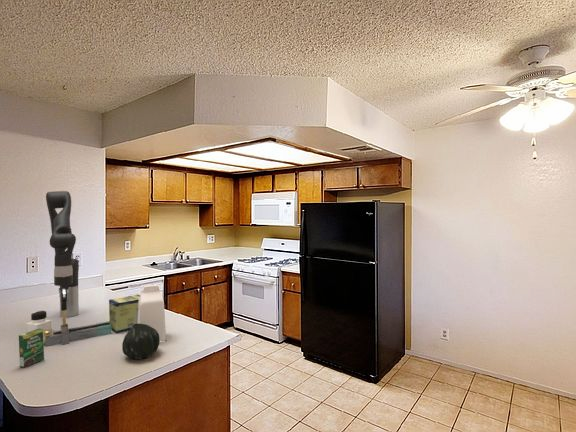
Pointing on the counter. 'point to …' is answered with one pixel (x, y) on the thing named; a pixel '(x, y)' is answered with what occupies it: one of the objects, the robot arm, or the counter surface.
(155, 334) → the squash
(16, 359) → the counter surface
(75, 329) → the tong arm
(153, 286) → the milk
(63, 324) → the lock pin
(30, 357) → the coffee box
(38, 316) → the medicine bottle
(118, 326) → the protein box
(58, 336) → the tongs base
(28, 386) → the counter surface
